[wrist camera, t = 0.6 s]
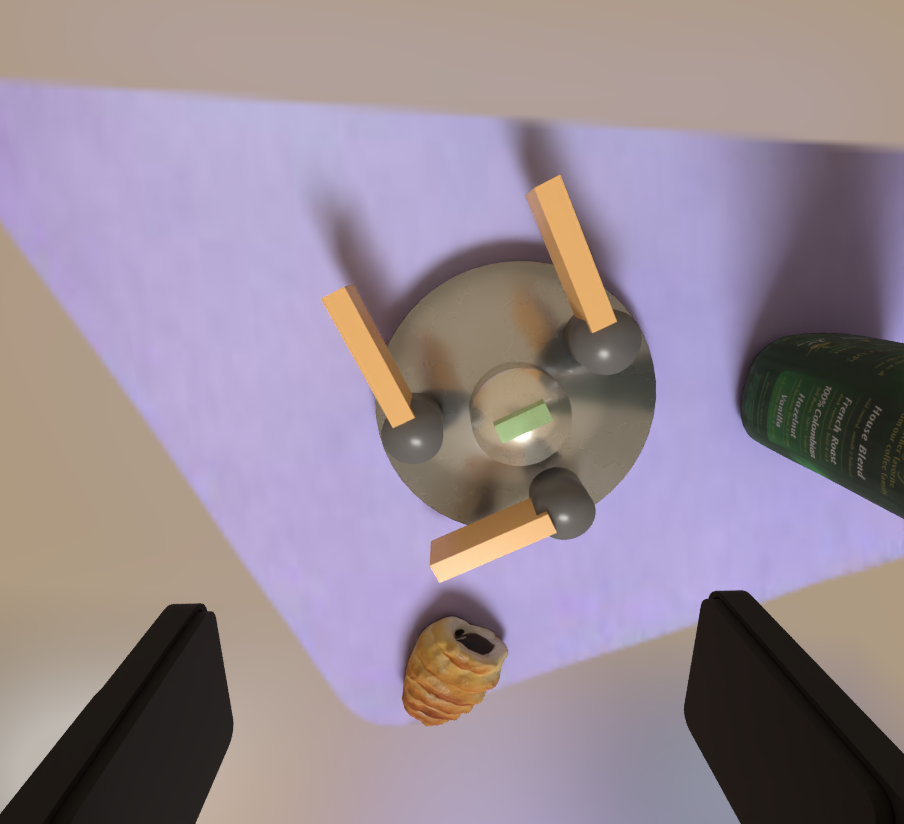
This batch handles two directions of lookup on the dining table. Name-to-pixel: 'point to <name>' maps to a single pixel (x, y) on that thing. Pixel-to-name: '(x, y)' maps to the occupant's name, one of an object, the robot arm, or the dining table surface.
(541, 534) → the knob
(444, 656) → the pastry
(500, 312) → the level plate
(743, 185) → the dining table surface
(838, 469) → the coffee jar
